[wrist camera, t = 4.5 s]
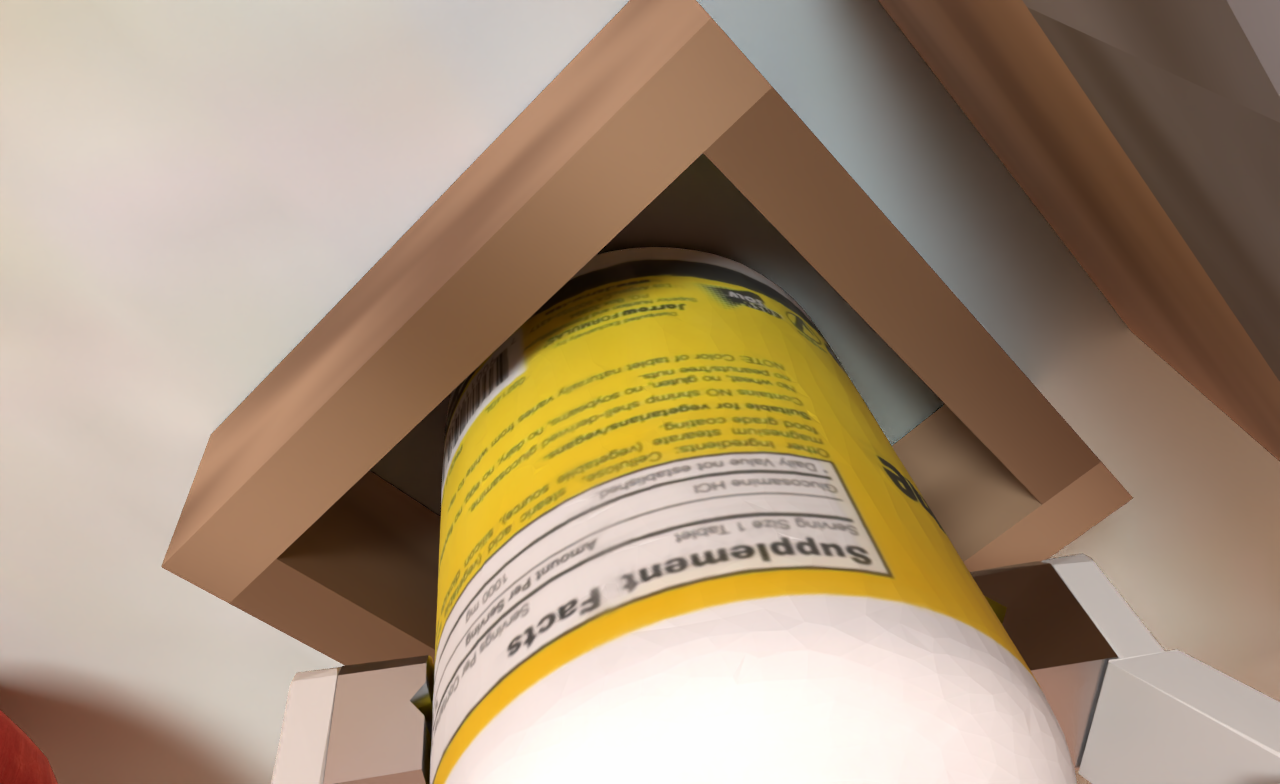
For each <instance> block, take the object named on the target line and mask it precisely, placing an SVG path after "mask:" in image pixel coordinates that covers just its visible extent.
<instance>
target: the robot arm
mask: <svg viewBox="0 0 1280 784" xmlns="http://www.w3.org/2000/svg"><path fill="white" fill-rule="evenodd" d="M970 574H971V575H972V577H973V579H974V580H975V582H976V583H977V585H978V587H979V588H980V590H981V591H982V593H983V595H984V596H985V598H986V600H987V601H988V603H989V604H990V606H991V608H992V609H993V611H994V612H995V614H996V616H997V617H998V619H999V620H1000V622H1001V624H1002V625H1003V627H1004V629H1005V630H1006V632H1007V633H1008V635H1009V637H1010V638H1011V640H1012V642H1013V643H1014V645H1015V646H1016V648H1017V650H1018V651H1019V653H1020V654H1021V656H1022V658H1023V659H1024V661H1025V663H1026V664H1027V666H1028V667H1029V669H1030V671H1031V672H1032V674H1033V676H1034V677H1035V679H1036V680H1037V682H1038V684H1039V685H1040V687H1041V689H1042V691H1043V693H1044V695H1045V697H1046V699H1047V701H1048V703H1049V705H1050V707H1051V709H1052V711H1053V713H1054V715H1055V717H1056V719H1057V721H1058V723H1059V725H1060V727H1061V729H1062V731H1063V733H1064V736H1065V739H1066V742H1067V746H1068V749H1069V752H1070V755H1071V758H1072V762H1073V765H1074V768H1075V770H1079V772H1078V774H1080V775H1081V776H1082V777H1084V778H1085V779H1086V780H1087V781H1089V782H1090V783H1091V784H1280V702H1279V701H1277V700H1275V699H1273V698H1271V697H1269V696H1267V695H1265V694H1263V693H1261V692H1259V691H1258V690H1256V689H1254V688H1252V687H1250V686H1248V685H1246V684H1244V683H1242V682H1240V681H1238V680H1236V679H1234V678H1232V677H1230V676H1228V675H1226V674H1224V673H1222V672H1220V671H1219V670H1217V669H1215V668H1213V667H1211V666H1209V665H1207V664H1205V663H1203V662H1201V661H1199V660H1197V659H1195V658H1193V657H1191V656H1189V655H1187V654H1185V653H1183V652H1181V651H1180V650H1178V649H1177V650H1169V651H1165V650H1164V649H1163V647H1162V646H1161V645H1160V644H1159V642H1158V641H1157V640H1156V639H1155V637H1154V636H1153V635H1152V634H1151V632H1150V631H1149V630H1148V629H1147V627H1146V626H1145V625H1144V624H1143V622H1142V621H1141V620H1140V619H1139V617H1138V616H1137V615H1136V613H1135V612H1134V611H1133V610H1132V608H1131V607H1130V606H1129V605H1128V603H1127V602H1126V601H1125V600H1124V598H1123V597H1122V596H1121V595H1120V593H1119V592H1118V591H1117V590H1116V588H1115V587H1114V586H1113V585H1112V583H1111V582H1110V581H1109V579H1108V578H1107V577H1106V576H1105V574H1104V573H1103V572H1102V571H1101V569H1100V568H1099V567H1098V566H1097V564H1096V563H1095V562H1094V561H1093V559H1092V558H1090V557H1088V556H1086V555H1084V554H1078V555H1072V556H1065V557H1059V558H1053V559H1047V560H1043V561H1041V562H1040V561H1034V562H1028V563H1022V564H1016V565H1010V566H1003V567H997V568H991V569H985V570H979V571H973V572H970ZM433 683H434V663H433V659H432V657H431V656H429V655H425V656H417V657H409V658H401V659H394V660H386V661H378V662H370V663H362V664H354V665H346V666H342V667H338V668H330V669H322V670H314V671H306V672H298V673H296V675H295V677H294V678H293V680H292V682H291V684H290V687H289V692H288V698H287V703H286V708H285V713H284V719H283V724H282V729H281V735H280V740H279V745H278V750H277V756H276V761H275V766H274V772H273V777H272V782H271V784H430V754H431V741H432V707H433Z"/></svg>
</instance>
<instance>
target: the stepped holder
mask: <svg viewBox="0 0 1280 784" xmlns="http://www.w3.org/2000/svg"><path fill="white" fill-rule="evenodd" d="M878 1H879V2H880V4H881V5H882V6H883V8H884V9H885V10H886V11H887V13H888V14H889V15H890V17H891V18H892V19H893V21H894V22H895V23H896V25H897V26H898V27H899V28H900V30H901V31H902V32H903V34H904V35H905V36H906V38H907V39H908V40H909V42H910V43H911V44H912V45H913V47H914V48H915V49H916V51H917V52H918V53H919V55H920V56H921V57H922V59H923V60H924V61H925V62H926V64H927V65H928V66H929V68H930V69H931V70H932V72H933V73H934V74H935V76H936V77H937V78H938V79H939V81H940V82H941V83H942V85H943V86H944V87H945V89H946V90H947V91H948V93H949V94H950V95H951V97H952V98H953V99H954V100H955V102H956V103H957V104H958V106H959V107H960V108H961V110H962V111H963V112H964V114H965V115H966V116H967V117H968V119H969V120H970V121H971V123H972V124H973V125H974V127H975V128H976V129H977V131H978V132H979V133H980V134H981V136H982V137H983V138H984V140H985V141H986V142H987V144H988V145H989V146H990V148H991V149H992V150H993V151H994V153H995V154H996V155H997V157H998V158H999V159H1000V161H1001V162H1002V163H1003V165H1004V166H1005V167H1006V168H1007V170H1008V171H1009V172H1010V174H1011V175H1012V176H1013V178H1014V179H1015V180H1016V182H1017V183H1018V184H1019V185H1020V187H1021V188H1022V189H1023V191H1024V192H1025V193H1026V195H1027V196H1028V197H1029V199H1030V200H1031V201H1032V202H1033V204H1034V205H1035V206H1036V208H1037V209H1038V210H1039V212H1040V213H1041V214H1042V216H1043V217H1044V218H1045V219H1046V221H1047V222H1048V223H1049V225H1050V226H1051V227H1052V229H1053V230H1054V231H1055V233H1056V234H1057V235H1058V236H1059V238H1060V239H1061V240H1062V242H1063V243H1064V244H1065V246H1066V247H1067V248H1068V250H1069V251H1070V252H1071V253H1072V255H1073V256H1074V257H1075V259H1076V260H1077V261H1078V263H1079V264H1080V265H1081V267H1082V268H1083V269H1084V270H1085V272H1086V273H1087V274H1088V276H1089V277H1090V278H1091V280H1092V281H1093V282H1094V284H1095V285H1096V286H1097V287H1098V289H1099V290H1100V291H1101V293H1102V294H1103V295H1104V297H1105V298H1106V299H1107V301H1108V302H1109V303H1110V304H1111V306H1112V307H1113V308H1114V310H1115V311H1116V312H1117V314H1118V315H1119V316H1120V318H1121V319H1122V320H1123V321H1124V323H1125V324H1126V325H1127V327H1128V328H1129V329H1130V331H1131V332H1132V333H1133V334H1135V335H1136V336H1137V337H1138V338H1139V339H1140V340H1141V341H1143V342H1144V343H1145V344H1146V345H1147V346H1148V347H1149V348H1151V349H1152V350H1153V351H1154V352H1155V353H1156V354H1158V355H1159V356H1160V357H1161V358H1162V359H1163V360H1164V361H1166V362H1167V363H1168V364H1169V365H1170V366H1171V367H1172V368H1174V369H1175V370H1176V371H1177V372H1178V373H1179V374H1180V375H1182V376H1183V377H1184V378H1185V379H1186V380H1187V381H1188V382H1190V383H1191V384H1192V385H1193V386H1194V387H1195V388H1196V389H1198V390H1199V391H1200V392H1201V393H1202V394H1203V395H1204V396H1206V397H1207V398H1208V399H1209V400H1210V401H1211V402H1212V403H1214V404H1215V405H1216V406H1217V407H1218V408H1219V409H1220V410H1222V411H1223V412H1224V413H1225V414H1226V415H1227V416H1228V417H1230V418H1231V419H1232V420H1233V421H1234V422H1235V423H1236V424H1238V425H1239V426H1240V427H1241V428H1242V429H1243V430H1244V431H1246V432H1247V433H1248V434H1249V435H1250V436H1251V437H1252V438H1254V439H1255V440H1256V441H1257V442H1258V443H1259V444H1260V445H1262V446H1263V447H1264V448H1265V449H1266V450H1267V451H1268V452H1270V453H1271V454H1272V455H1273V456H1274V457H1275V458H1276V459H1278V460H1279V461H1280V0H878ZM702 153H704V154H705V156H706V157H707V158H708V159H709V160H710V161H711V162H712V163H713V164H714V165H715V166H716V167H717V168H718V169H719V170H720V171H721V172H722V173H723V174H724V175H725V176H726V177H727V178H728V179H729V180H730V181H731V182H732V183H733V185H734V186H735V187H736V188H737V189H738V190H739V191H740V192H741V193H742V194H743V195H744V196H745V197H746V198H747V199H748V200H749V201H750V202H751V203H752V204H753V205H754V206H755V207H756V208H757V209H758V210H759V211H760V213H761V214H762V215H763V216H764V217H765V218H766V219H767V220H768V221H769V222H770V223H771V224H772V225H773V226H774V227H775V228H776V229H777V230H778V231H779V232H780V233H781V234H782V235H783V236H784V237H785V238H786V239H787V240H788V242H789V243H790V244H791V245H792V246H793V247H794V248H795V249H796V250H797V251H798V252H799V253H800V254H801V255H802V256H803V257H804V258H805V259H806V260H807V261H808V262H809V263H810V264H811V265H812V266H813V267H814V268H815V270H816V271H817V272H818V273H819V274H820V275H821V276H822V277H823V278H824V279H825V280H826V281H827V282H828V283H829V284H830V285H831V286H832V287H833V288H834V289H835V290H836V291H837V292H838V293H839V294H840V295H841V296H842V297H843V299H844V300H845V301H846V302H847V303H848V304H849V305H850V306H851V307H852V308H853V309H854V310H855V311H856V312H857V313H858V314H859V315H860V316H861V317H862V318H863V319H864V320H865V321H866V322H867V323H868V324H869V325H870V327H871V328H872V329H873V330H874V331H875V332H876V333H877V334H878V335H879V336H880V337H881V338H882V339H883V340H884V341H885V342H886V343H887V344H888V345H889V346H890V347H891V348H892V349H893V350H894V351H895V352H896V353H897V354H898V356H899V357H900V358H901V359H902V360H903V361H904V362H905V363H906V364H907V365H908V366H909V367H910V368H911V369H912V370H913V371H914V372H915V373H916V374H917V375H918V376H919V377H920V378H921V379H922V380H923V381H924V382H925V384H926V385H927V386H928V387H929V388H930V389H931V390H932V391H933V392H934V393H935V394H936V395H937V396H938V397H939V398H940V399H941V400H942V401H943V402H944V403H945V405H943V406H942V407H941V408H940V409H938V410H937V411H936V412H935V413H933V414H932V415H931V416H929V417H928V418H927V419H926V420H924V421H923V422H922V423H921V424H919V425H918V426H917V427H915V428H914V429H913V430H912V431H910V432H909V433H908V434H907V435H905V436H904V437H903V438H901V439H900V440H899V441H898V442H896V443H895V444H894V445H893V446H892V448H893V449H894V451H895V452H896V454H897V456H898V457H899V459H900V460H901V462H902V464H903V465H904V467H905V468H906V470H907V472H908V473H909V475H910V476H911V478H912V480H913V481H914V483H915V484H916V486H917V488H918V490H919V491H920V493H921V495H922V496H923V498H924V500H925V501H926V503H927V505H928V506H929V508H930V509H931V511H932V512H933V514H934V516H935V517H936V519H937V520H938V522H939V523H940V525H941V526H942V528H943V530H944V531H945V533H946V534H947V536H948V538H949V539H950V541H951V543H952V544H953V546H954V548H955V550H956V551H957V553H958V555H959V556H960V558H961V559H962V561H963V563H964V564H965V566H966V567H967V569H968V571H969V572H973V571H979V570H985V569H991V568H997V567H1003V566H1010V565H1016V564H1022V563H1028V562H1034V561H1040V562H1041V561H1043V560H1047V559H1048V558H1050V557H1051V556H1052V555H1054V554H1055V553H1057V552H1058V551H1059V550H1061V549H1062V548H1064V547H1065V546H1067V545H1068V544H1069V543H1071V542H1072V541H1074V540H1075V539H1076V538H1078V537H1079V536H1081V535H1082V534H1083V533H1085V532H1086V531H1088V530H1089V529H1090V528H1092V527H1093V526H1095V525H1096V524H1098V523H1099V522H1100V521H1102V520H1103V519H1105V518H1106V517H1107V516H1109V515H1110V514H1112V513H1113V512H1114V511H1116V510H1117V509H1119V508H1120V507H1122V506H1123V505H1124V504H1126V503H1127V502H1129V501H1130V500H1131V499H1133V497H1132V496H1131V495H1130V494H1129V493H1128V492H1127V490H1126V489H1125V488H1124V487H1123V486H1122V485H1121V484H1120V483H1119V481H1118V480H1117V479H1116V478H1115V477H1114V476H1113V475H1112V473H1111V472H1110V471H1109V470H1108V469H1107V468H1106V467H1105V465H1104V464H1103V463H1102V462H1101V461H1100V460H1099V459H1098V457H1097V456H1096V455H1095V454H1094V453H1093V452H1092V451H1091V449H1090V448H1089V447H1088V446H1087V445H1086V444H1085V443H1084V441H1083V440H1082V439H1081V438H1080V437H1079V436H1078V435H1077V434H1076V432H1075V431H1074V430H1073V429H1072V428H1071V427H1070V426H1069V424H1068V423H1067V422H1066V421H1065V420H1064V419H1063V418H1062V416H1061V415H1060V414H1059V413H1058V412H1057V411H1056V410H1055V408H1054V407H1053V406H1052V405H1051V404H1050V403H1049V402H1048V400H1047V399H1046V398H1045V397H1044V396H1043V395H1042V394H1041V392H1040V391H1039V390H1038V389H1037V388H1036V387H1035V386H1034V385H1033V383H1032V382H1031V381H1030V380H1029V379H1028V378H1027V377H1026V375H1025V374H1024V373H1023V372H1022V371H1021V370H1020V369H1019V367H1018V366H1017V365H1016V364H1015V363H1014V362H1013V361H1012V359H1011V358H1010V357H1009V356H1008V355H1007V354H1006V353H1005V351H1004V350H1003V349H1002V348H1001V347H1000V346H999V345H998V343H997V342H996V341H995V340H994V339H993V338H992V337H991V335H990V334H989V333H988V332H987V331H986V330H985V329H984V328H983V326H982V325H981V324H980V323H979V322H978V321H977V320H976V318H975V317H974V316H973V315H972V314H971V313H970V312H969V310H968V309H967V308H966V307H965V306H964V305H963V304H962V302H961V301H960V300H959V299H958V298H957V297H956V296H955V294H954V293H953V292H952V291H951V290H950V289H949V288H948V286H947V285H946V284H945V283H944V282H943V281H942V280H941V279H940V277H939V276H938V275H937V274H936V273H935V272H934V271H933V269H932V268H931V267H930V266H929V265H928V264H927V263H926V261H925V260H924V259H923V258H922V257H921V256H920V255H919V253H918V252H917V251H916V250H915V249H914V248H913V247H912V245H911V244H910V243H909V242H908V241H907V240H906V239H905V237H904V236H903V235H902V234H901V233H900V232H899V231H898V230H897V228H896V227H895V226H894V225H893V224H892V223H891V222H890V220H889V219H888V218H887V217H886V216H885V215H884V214H883V212H882V211H881V210H880V209H879V208H878V207H877V206H876V204H875V203H874V202H873V201H872V200H871V199H870V198H869V196H868V195H867V194H866V193H865V192H864V191H863V190H862V188H861V187H860V186H859V185H858V184H857V183H856V182H855V180H854V179H853V178H852V177H851V176H850V175H849V174H848V173H847V171H846V170H845V169H844V168H843V167H842V166H841V165H840V163H839V162H838V161H837V160H836V159H835V158H834V157H833V155H832V154H831V153H830V152H829V151H828V150H827V149H826V147H825V146H824V145H823V144H822V143H821V142H820V141H819V139H818V138H817V137H816V136H815V135H814V134H813V133H812V131H811V130H810V129H809V128H808V127H807V126H806V125H805V124H804V122H803V121H802V120H801V119H800V118H799V117H798V116H797V114H796V113H795V112H794V111H793V110H792V109H791V108H790V106H789V105H788V104H787V103H786V102H785V101H784V100H783V98H782V97H781V96H780V95H779V94H778V93H777V92H776V90H775V89H774V88H773V87H772V86H771V85H770V84H769V82H768V81H767V80H766V79H765V78H764V77H763V76H762V75H761V73H760V72H759V71H758V70H757V69H756V68H755V67H754V65H753V64H752V63H751V62H750V61H749V60H748V59H747V57H746V56H745V55H744V54H743V53H742V52H741V51H740V49H739V48H738V47H737V46H736V45H735V44H734V43H733V41H732V40H731V39H730V38H729V37H728V36H727V35H726V33H725V32H724V31H723V30H722V29H721V28H720V27H719V26H718V24H717V23H716V22H715V21H714V20H713V19H712V18H711V16H710V15H709V14H708V13H707V12H706V11H705V10H704V9H703V8H702V7H701V6H700V4H699V3H698V2H697V1H696V0H630V1H629V2H628V3H627V4H626V5H625V6H624V7H623V8H622V9H621V10H620V11H619V12H618V13H617V14H616V15H615V17H614V18H613V19H612V20H611V21H610V22H609V23H608V24H607V25H606V26H605V27H604V28H603V29H602V30H601V31H600V32H599V33H598V34H597V35H596V36H595V37H594V38H593V39H592V40H591V41H590V42H589V43H588V44H587V46H586V47H585V48H584V49H583V50H582V51H581V52H580V53H579V54H578V55H577V56H576V57H575V58H574V59H573V60H572V61H571V62H570V63H569V64H568V65H567V66H566V67H565V68H564V69H563V70H562V71H561V72H560V74H559V75H558V76H557V77H556V78H555V79H554V80H553V81H552V82H551V83H550V84H549V85H548V86H547V87H546V88H545V89H544V90H543V91H542V92H541V93H540V94H539V95H538V96H537V97H536V98H535V99H534V100H533V101H532V103H531V104H530V105H529V106H528V107H527V108H526V109H525V110H524V111H523V112H522V113H521V114H520V115H519V116H518V117H517V118H516V119H515V120H514V121H513V122H512V123H511V124H510V125H509V126H508V127H507V128H506V129H505V130H504V132H503V133H502V134H501V135H500V136H499V137H498V138H497V139H496V140H495V141H494V142H493V143H492V144H491V145H490V146H489V147H488V148H487V149H486V150H485V151H484V152H483V153H482V154H481V155H480V156H479V157H478V158H477V159H476V161H475V162H474V163H473V164H472V165H471V166H470V167H469V168H468V169H467V170H466V171H465V172H464V173H463V174H462V175H461V176H460V177H459V178H458V179H457V180H456V181H455V182H454V183H453V184H452V185H451V186H450V187H449V188H448V190H447V191H446V192H445V193H444V194H443V195H442V196H441V197H440V198H439V199H438V200H437V201H436V202H435V203H434V204H433V205H432V206H431V207H430V208H429V209H428V210H427V211H426V212H425V213H424V214H423V215H422V216H421V217H420V219H419V220H418V221H417V222H416V223H415V224H414V225H413V226H412V227H411V228H410V229H409V230H408V231H407V232H406V233H405V234H404V235H403V236H402V237H401V238H400V239H399V240H398V241H397V242H396V243H395V244H394V245H393V246H392V248H391V249H390V250H389V251H388V252H387V253H386V254H385V255H384V256H383V257H382V258H381V259H380V260H379V261H378V262H377V263H376V264H375V265H374V266H373V267H372V268H371V269H370V270H369V271H368V272H367V273H366V274H365V276H364V277H363V278H362V279H361V280H360V281H359V282H358V283H357V284H356V285H355V286H354V287H353V288H352V289H351V290H350V291H349V292H348V293H347V294H346V295H345V296H344V297H343V298H342V299H341V300H340V301H339V302H338V303H337V305H336V306H335V307H334V308H333V309H332V310H331V311H330V312H329V313H328V314H327V315H326V316H325V317H324V318H323V319H322V320H321V321H320V322H319V323H318V324H317V325H316V326H315V327H314V328H313V329H312V330H311V331H310V332H309V334H308V335H307V336H306V337H305V338H304V339H303V340H302V341H301V342H300V343H299V344H298V345H297V346H296V347H295V348H294V349H293V350H292V351H291V352H290V353H289V354H288V355H287V356H286V357H285V358H284V359H283V360H282V361H281V363H280V364H279V365H278V366H277V367H276V368H275V369H274V370H273V371H272V372H271V373H270V374H269V375H268V376H267V377H266V378H265V379H264V380H263V381H262V382H261V383H260V384H259V385H258V386H257V387H256V388H255V389H254V390H253V392H252V393H251V394H250V395H249V396H248V397H247V398H246V399H245V400H244V401H243V402H242V403H241V404H240V405H239V406H238V407H237V408H236V409H235V410H234V411H233V412H232V413H231V414H230V415H229V416H228V417H227V418H226V419H225V421H224V422H223V423H222V424H221V425H220V426H219V427H218V428H217V429H216V430H215V431H214V432H213V433H212V434H211V436H210V438H209V441H208V444H207V446H206V449H205V452H204V454H203V457H202V460H201V462H200V465H199V468H198V470H197V473H196V476H195V478H194V481H193V484H192V486H191V489H190V492H189V494H188V497H187V500H186V502H185V505H184V508H183V510H182V513H181V516H180V518H179V521H178V524H177V526H176V529H175V532H174V534H173V537H172V540H171V542H170V545H169V548H168V550H167V553H166V556H165V558H164V561H163V564H162V566H161V567H162V568H164V569H166V570H168V571H170V572H172V573H173V574H175V575H177V576H179V577H181V578H183V579H185V580H187V581H188V582H190V583H192V584H194V585H196V586H198V587H200V588H201V589H203V590H205V591H207V592H209V593H211V594H213V595H215V596H216V597H218V598H220V599H222V600H224V601H226V602H228V603H229V604H231V605H233V606H235V607H237V608H239V609H241V610H243V611H244V612H246V613H248V614H250V615H252V616H254V617H256V618H258V619H259V620H261V621H263V622H265V623H267V624H269V625H271V626H272V627H274V628H276V629H278V630H280V631H282V632H284V633H286V634H287V635H289V636H291V637H293V638H295V639H297V640H299V641H300V642H302V643H304V644H306V645H308V646H310V647H312V648H314V649H315V650H317V651H319V652H321V653H323V654H325V655H327V656H328V657H330V658H332V659H334V660H336V661H338V662H340V663H342V664H343V665H345V666H346V665H354V664H362V663H370V662H378V661H386V660H394V659H401V658H409V657H417V656H425V655H429V656H431V657H432V659H433V663H434V661H435V639H436V618H437V597H438V570H439V544H440V523H441V517H440V516H438V515H437V514H435V513H434V512H432V511H431V510H429V509H428V508H426V507H425V506H423V505H421V504H420V503H418V502H417V501H415V500H414V499H412V498H411V497H409V496H408V495H406V494H405V493H403V492H402V491H400V490H399V489H397V488H396V487H394V486H392V485H391V484H389V483H388V482H386V481H385V480H383V479H382V478H380V477H379V476H377V475H376V474H374V473H373V472H371V471H370V469H371V468H372V467H373V466H374V465H375V464H376V463H377V462H379V461H380V460H381V459H382V458H383V457H384V456H385V455H386V454H387V453H388V452H389V451H390V450H391V449H392V448H393V447H394V446H395V445H396V444H397V443H398V442H400V441H401V440H402V439H403V438H404V437H405V436H406V435H407V434H408V433H409V432H410V431H411V430H412V429H413V428H414V427H415V426H416V425H417V424H418V423H420V422H421V421H422V420H423V419H424V418H425V417H426V416H427V415H428V414H429V413H430V412H431V411H432V410H433V409H434V408H435V407H436V406H437V405H438V404H439V403H441V402H442V401H443V400H444V399H445V398H446V397H447V396H448V395H449V394H450V393H451V392H452V391H453V390H454V389H455V388H456V387H457V386H458V385H459V384H461V383H462V382H463V381H464V380H465V379H466V378H467V377H468V376H469V375H470V374H471V373H472V372H473V371H474V370H475V369H476V368H477V367H478V366H479V365H480V364H482V363H483V362H484V361H485V360H486V359H487V358H488V357H489V356H490V355H491V354H492V353H493V352H494V351H495V350H496V349H497V348H498V347H499V346H500V345H502V344H503V343H504V342H505V341H506V340H507V339H508V338H509V337H510V336H511V335H512V334H513V333H514V332H515V331H516V330H517V329H518V328H519V327H520V326H521V325H523V324H524V323H525V322H526V321H527V320H528V319H529V318H530V317H531V316H532V315H533V314H534V313H535V312H536V311H537V310H538V309H539V308H540V307H541V306H543V305H544V304H545V303H546V302H547V301H548V300H549V299H550V298H551V297H552V296H553V295H554V294H555V293H556V292H557V291H558V290H559V289H560V288H561V287H563V286H564V285H565V284H566V283H567V282H568V281H569V280H570V279H571V278H572V277H573V276H574V275H575V274H576V273H577V272H578V271H579V270H580V269H581V268H582V267H584V266H585V265H586V264H587V263H588V262H589V261H590V260H591V259H592V258H593V257H594V256H595V255H596V254H597V253H598V252H599V251H600V250H601V249H602V248H604V247H605V246H606V245H607V244H608V243H609V242H610V241H611V240H612V239H613V238H614V237H615V236H616V235H617V234H618V233H619V232H620V231H621V230H622V229H623V228H625V227H626V226H627V225H628V224H629V223H630V222H631V221H632V220H633V219H634V218H635V217H636V216H637V215H638V214H639V213H640V212H641V211H642V210H643V209H645V208H646V207H647V206H648V205H649V204H650V203H651V202H652V201H653V200H654V199H655V198H656V197H657V196H658V195H659V194H660V193H661V192H662V191H663V190H664V189H666V188H667V187H668V186H669V185H670V184H671V183H672V182H673V181H674V180H675V179H676V178H677V177H678V176H679V175H680V174H681V173H682V172H683V171H684V170H686V169H687V168H688V167H689V166H690V165H691V164H692V163H693V162H694V161H695V160H696V159H697V158H698V157H699V156H700V155H701V154H702Z"/></svg>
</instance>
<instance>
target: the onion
mask: <svg viewBox="0 0 1280 784" xmlns="http://www.w3.org/2000/svg"><path fill="white" fill-rule="evenodd" d="M0 784H58V783H57V780H56V778H55V776H54V773H53V771H52V769H51V766H50V764H49V761H48V759H47V757H46V756H45V755H44V754H43V753H42V752H41V751H40V749H39V748H38V747H37V746H36V745H35V744H34V743H33V741H32V740H31V739H30V738H29V737H28V736H27V735H26V734H25V733H24V732H23V731H22V730H21V729H20V728H19V727H18V726H17V725H16V724H15V723H14V722H13V721H12V720H11V719H9V718H8V717H7V716H6V715H5V714H4V713H3V712H2V711H1V710H0Z"/></svg>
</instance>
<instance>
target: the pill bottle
mask: <svg viewBox="0 0 1280 784" xmlns="http://www.w3.org/2000/svg"><path fill="white" fill-rule="evenodd" d="M430 784H1077V780H1076V774H1075V768H1074V765H1073V762H1072V758H1071V755H1070V752H1069V749H1068V746H1067V742H1066V739H1065V736H1064V733H1063V731H1062V729H1061V727H1060V725H1059V723H1058V721H1057V719H1056V717H1055V715H1054V713H1053V711H1052V709H1051V707H1050V705H1049V703H1048V701H1047V699H1046V697H1045V695H1044V693H1043V691H1042V689H1041V687H1040V685H1039V684H1038V682H1037V680H1036V679H1035V677H1034V676H1033V674H1032V672H1031V671H1030V669H1029V667H1028V666H1027V664H1026V663H1025V661H1024V659H1023V658H1022V656H1021V654H1020V653H1019V651H1018V650H1017V648H1016V646H1015V645H1014V643H1013V642H1012V640H1011V638H1010V637H1009V635H1008V633H1007V632H1006V630H1005V629H1004V627H1003V625H1002V624H1001V622H1000V620H999V619H998V617H997V616H996V614H995V612H994V611H993V609H992V608H991V606H990V604H989V603H988V601H987V600H986V598H985V596H984V595H983V593H982V591H981V590H980V588H979V587H978V585H977V583H976V582H975V580H974V579H973V577H972V575H971V574H970V572H969V571H968V569H967V567H966V566H965V564H964V563H963V561H962V559H961V558H960V556H959V555H958V553H957V551H956V550H955V548H954V546H953V544H952V543H951V541H950V539H949V538H948V536H947V534H946V533H945V531H944V530H943V528H942V526H941V525H940V523H939V522H938V520H937V519H936V517H935V516H934V514H933V512H932V511H931V509H930V508H929V506H928V505H927V503H926V501H925V500H924V498H923V496H922V495H921V493H920V491H919V490H918V488H917V486H916V484H915V483H914V481H913V480H912V478H911V476H910V475H909V473H908V472H907V470H906V468H905V467H904V465H903V464H902V462H901V460H900V459H899V457H898V456H897V454H896V452H895V451H894V449H893V448H892V446H891V444H890V443H889V441H888V439H887V438H886V436H885V435H884V433H883V431H882V430H881V428H880V426H879V425H878V423H877V421H876V420H875V418H874V417H873V415H872V413H871V412H870V410H869V408H868V407H867V405H866V404H865V402H864V400H863V399H862V397H861V396H860V394H859V392H858V391H857V389H856V388H855V386H854V385H853V383H852V382H851V380H850V378H849V377H848V375H847V373H846V372H845V370H844V369H843V367H842V365H841V364H840V362H839V360H838V359H837V357H836V356H835V354H834V352H833V351H832V349H831V348H830V346H829V345H828V343H827V342H826V340H825V339H824V337H823V336H822V334H821V333H820V331H819V330H818V329H817V327H816V326H815V324H814V323H813V321H812V320H811V319H810V317H809V316H808V315H807V314H806V312H805V311H804V310H803V309H802V308H801V307H800V305H799V304H798V303H797V302H796V301H795V300H794V299H793V298H792V297H791V296H790V295H788V294H787V293H786V292H785V291H784V290H783V289H782V288H780V287H779V286H778V285H776V284H775V283H773V282H772V281H770V280H769V279H767V278H766V277H764V276H763V275H761V274H760V273H758V272H756V271H754V270H753V269H751V268H749V267H747V266H745V265H743V264H741V263H739V262H736V261H733V260H731V259H728V258H724V257H721V256H718V255H714V254H710V253H706V252H702V251H695V250H687V249H679V248H665V247H644V248H630V249H623V250H616V251H610V252H605V253H600V254H597V255H595V256H594V257H593V258H592V259H591V260H590V261H589V262H588V263H587V264H586V265H585V266H584V267H582V268H581V269H580V270H579V271H578V272H577V273H576V274H575V275H574V276H573V277H572V278H571V279H570V280H569V281H568V282H567V283H566V284H565V285H564V286H563V287H561V288H560V289H559V290H558V291H557V292H556V293H555V294H554V295H553V296H552V297H551V298H550V299H549V300H548V301H547V302H546V303H545V304H544V305H543V306H541V307H540V308H539V309H538V310H537V311H536V312H535V313H534V314H533V315H532V316H531V317H530V318H529V319H528V320H527V321H526V322H525V323H524V324H523V325H521V326H520V327H519V328H518V329H517V330H516V331H515V332H514V333H513V334H512V335H511V336H510V337H509V338H508V339H507V340H506V341H505V342H504V343H503V344H502V345H500V346H499V347H498V348H497V349H496V350H495V351H494V352H493V353H492V354H491V355H490V356H489V357H488V358H487V359H486V360H485V361H484V362H483V363H482V364H480V365H479V366H478V367H477V368H476V369H475V370H474V371H473V372H472V373H471V374H470V375H469V376H468V377H467V378H466V379H465V380H464V381H463V382H462V383H461V384H459V385H458V386H457V387H456V388H455V389H454V390H453V391H452V393H451V396H450V400H449V407H448V413H447V420H446V427H445V436H444V454H443V472H442V494H441V523H440V544H439V570H438V597H437V618H436V639H435V661H434V683H433V707H432V741H431V754H430Z"/></svg>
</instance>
